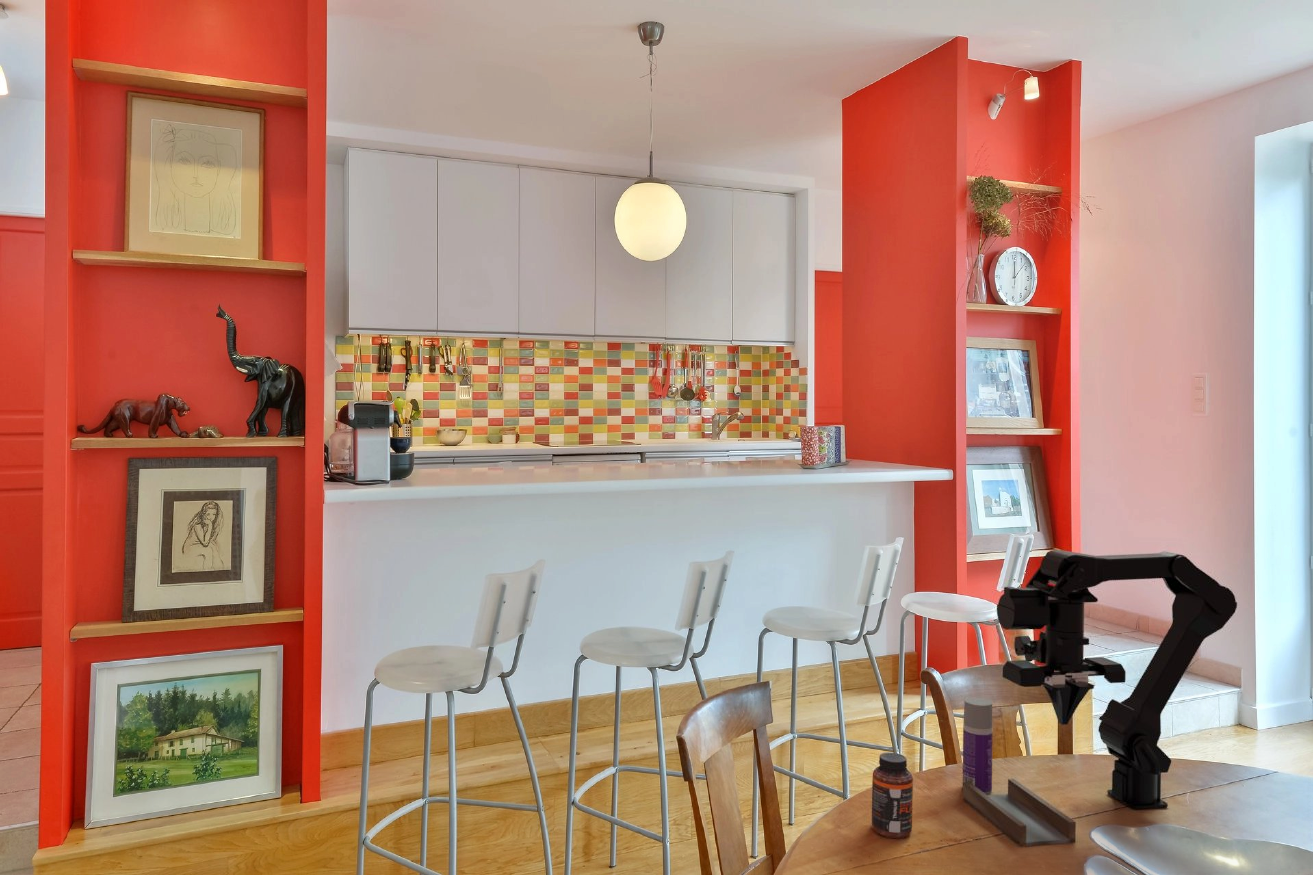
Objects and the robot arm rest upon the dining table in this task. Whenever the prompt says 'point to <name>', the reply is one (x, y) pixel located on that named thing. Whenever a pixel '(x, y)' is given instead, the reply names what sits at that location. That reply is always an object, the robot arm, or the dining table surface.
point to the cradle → (1022, 815)
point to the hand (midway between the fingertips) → (1062, 723)
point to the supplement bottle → (892, 796)
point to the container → (978, 743)
